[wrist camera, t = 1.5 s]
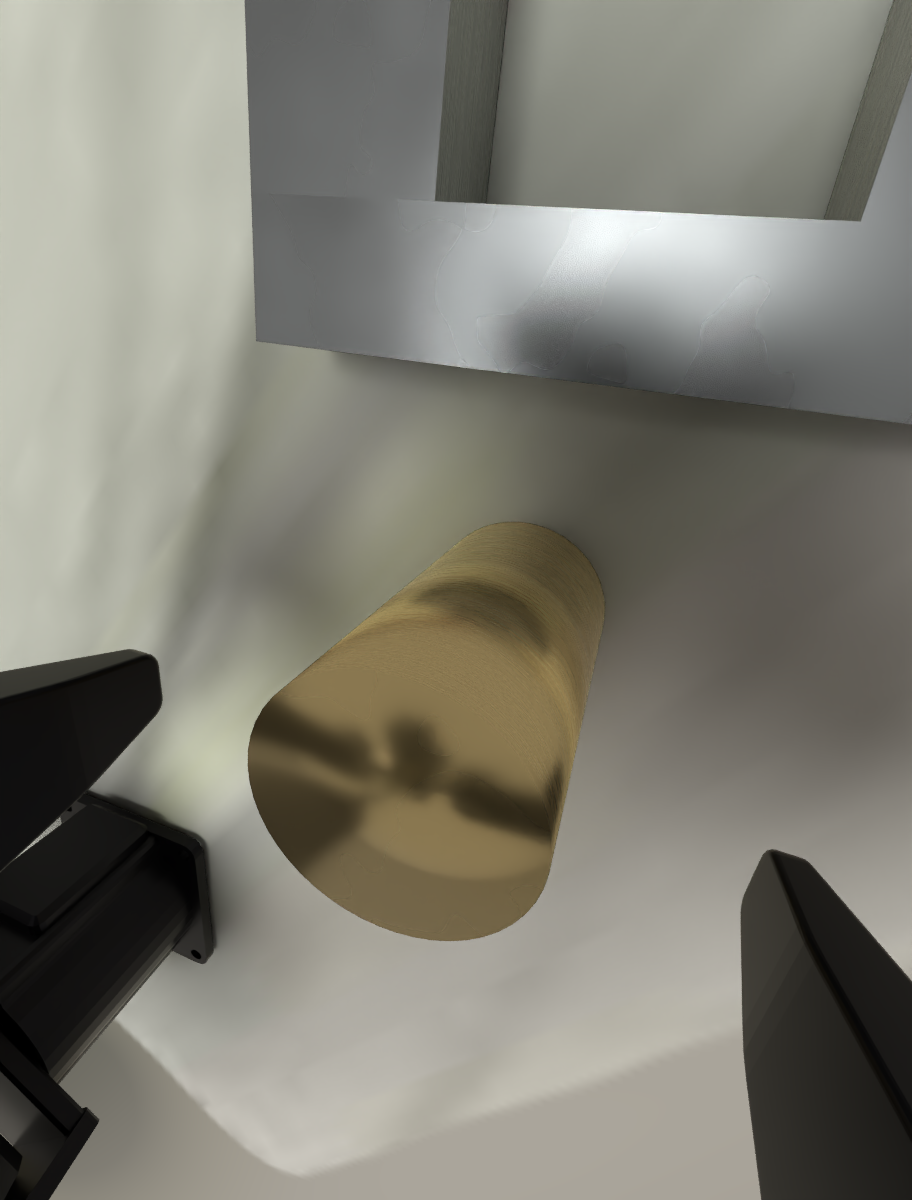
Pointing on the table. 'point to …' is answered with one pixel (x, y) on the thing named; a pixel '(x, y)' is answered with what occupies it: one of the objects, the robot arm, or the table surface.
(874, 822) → the table surface
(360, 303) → the metal square frame
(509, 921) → the tan rectangular block
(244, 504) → the table surface
